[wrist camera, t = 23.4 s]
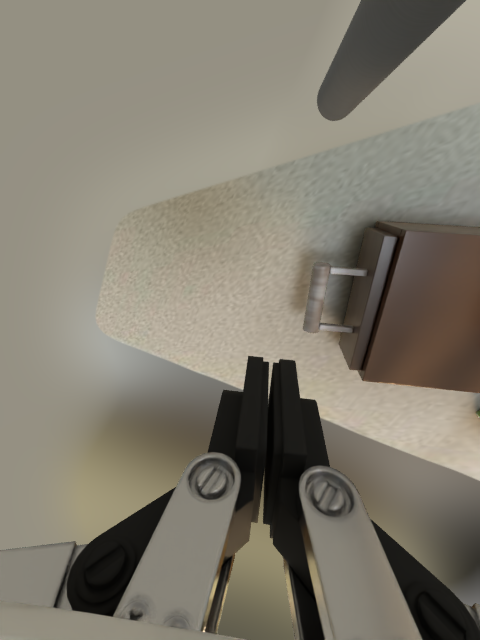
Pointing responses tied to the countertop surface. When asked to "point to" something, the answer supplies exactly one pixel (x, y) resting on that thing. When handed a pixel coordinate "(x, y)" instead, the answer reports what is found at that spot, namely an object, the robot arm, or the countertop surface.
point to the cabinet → (429, 310)
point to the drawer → (355, 295)
